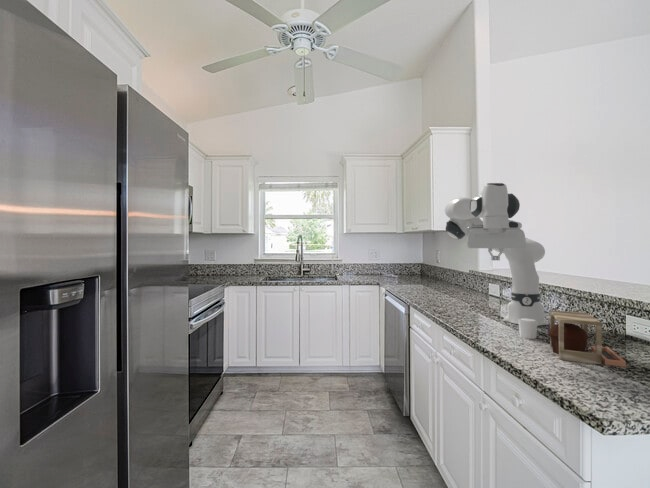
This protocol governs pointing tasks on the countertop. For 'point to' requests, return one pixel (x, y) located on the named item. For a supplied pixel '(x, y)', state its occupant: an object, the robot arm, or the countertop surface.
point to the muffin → (569, 338)
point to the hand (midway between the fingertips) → (495, 260)
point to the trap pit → (610, 357)
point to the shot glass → (527, 328)
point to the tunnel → (585, 320)
